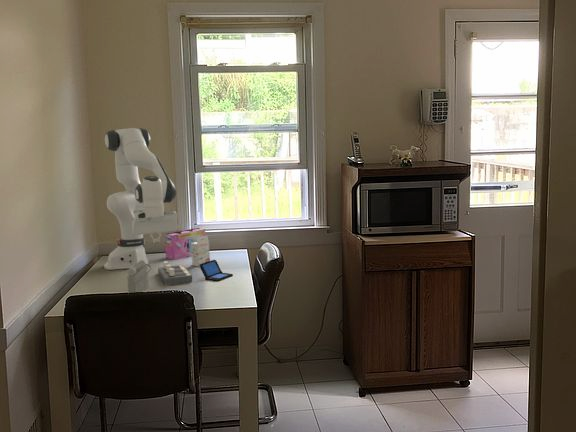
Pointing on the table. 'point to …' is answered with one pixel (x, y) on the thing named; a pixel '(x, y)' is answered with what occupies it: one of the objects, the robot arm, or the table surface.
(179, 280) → the switch panel
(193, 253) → the ink cartridge box
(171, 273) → the switch tab
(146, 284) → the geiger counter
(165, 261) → the switch tab
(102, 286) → the table surface
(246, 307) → the table surface
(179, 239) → the gum box
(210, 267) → the handheld game console
